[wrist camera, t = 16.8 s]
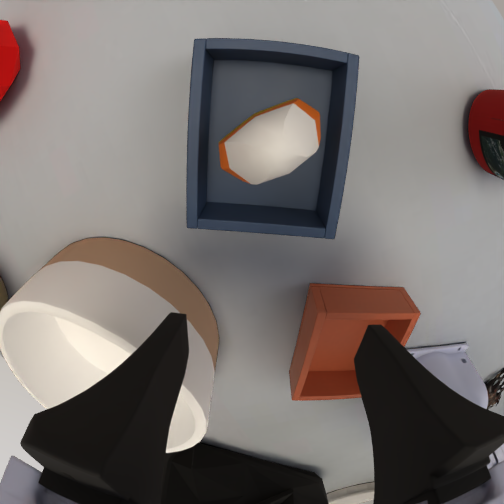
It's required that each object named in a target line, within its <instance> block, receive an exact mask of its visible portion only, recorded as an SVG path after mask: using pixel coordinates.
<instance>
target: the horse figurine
mask: <svg viewBox="0 0 504 504" xmlns="http://www.w3.org/2000/svg"><path fill="white" fill-rule="evenodd" d="M503 373H504V368H503V370H502V371H501V372H500V373H499V374H497V376H496V377H495V378H494V379H492V380H491V381H490V382H488V383H487V384H486V385H485V386H486V388H487V392H488V406H487V410H488V409H489V408H491V407H493V406H490V405H494V404H495V403H496V402H497V404H498V403H499V400H500V398H501V397H500V395H501V392H502V391H503V390H504V388H501V387H502V386H503V385H504V382H503V383H502V385H499V384H500V381H502V379H503V378H504V375H503V376H502V377H500V375H501V374H503ZM496 380H498V382H497V383H496V384H495V385H493V384H494V382H495V381H496ZM498 390H500V392H499V393H497V391H498ZM499 397H500V398H499ZM498 399H499V400H498ZM496 406H497V405H496ZM488 407H489V408H488Z"/></svg>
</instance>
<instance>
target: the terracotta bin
mask: <svg viewBox="0 0 504 504" xmlns="http://www.w3.org/2000/svg"><path fill="white" fill-rule="evenodd" d="M420 314H421V313H420V311H419V310H418V308H417V307H416V305H415V304H414V302H413V301H412V299H411V298H410V296H409V295H408V293H407V292H406V290H405V289H404V288H403V287H377V286H353V285H333V284H314V283H310V286H309V290H308V295H307V300H306V304H305V309H304V313H303V317H302V322H301V326H300V330H299V335H298V339H297V343H296V347H295V351H294V355H293V359H292V363H291V367H290V370H289V374H290V385H291V396H292V400H332V399H349V398H361V393H360V390H359V386H358V382H357V378H356V372H355V365H354V357H355V355H356V353H357V350H358V348H359V346H360V343H361V341H362V339H363V336H364V334H365V331H366V329H367V326H368V325H382V326H383V327H384V328H385V329H386V330H388V331H389V332H390V333H391V334H392V335H393V336H394V337H395V338H396V339H397V340H398V341H399V343H400V344H401V345H402V346H403V347H404V346H405V344H406V342H407V340H408V338H409V337H410V335H411V333H412V330H413V328H414V326H415V324H416V322H417V320H418V318H419V316H420Z"/></svg>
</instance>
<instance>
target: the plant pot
mask: <svg viewBox="0 0 504 504" xmlns="http://www.w3.org/2000/svg"><path fill="white" fill-rule="evenodd" d="M7 302H8V296H7V291H6V288H5V285H4V283H3V281H2V279H1V277H0V311H1V309H2V307H3V306H4V305H5V304H6V303H7Z"/></svg>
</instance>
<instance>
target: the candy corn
mask: <svg viewBox="0 0 504 504" xmlns="http://www.w3.org/2000/svg"><path fill="white" fill-rule="evenodd" d="M320 139H321V130H320V113H319V112H318V111H317V110H315V109H314V108H312V107H311V106H309V105H308V104H306V103H304V102H303V101H301V100H300V99H298V98H295V99H291V100H288V101H286V102H283V103H280V104H278V105H275V106H272V107H270V108H267V109H265V110H262V111H259V112H257V113H255V114H253V115H252V116H250V117H249V118H248V119H247V120H245V121H244V122H243V123H241V124H240V125H239V126H238V127H236V128H235V129H234V130H233V131H231V132H230V133H229V134H228V135H226V136H225V137H224V138H223V139H222V140H221V141H220V142H219V155H220V166H221V169H223V170H224V171H226V172H228V173H230V174H231V175H233V176H235V177H236V178H238V179H240V180H242V181H244V182H247V183H249V184H256V185H257V184H260V183H263V182H266V181H269V180H272V179H275V178H278V177H281V176H284V175H286V174H289V173H291V172H292V171H293V170H294V169H296V168H297V167H298V166H299V165H301V164H302V163H303V162H304V161H306V160H307V159H308V158H309V157H311V156H312V155H313V154H314V153H316V151H317V149H318V148H319V144H320Z"/></svg>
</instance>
